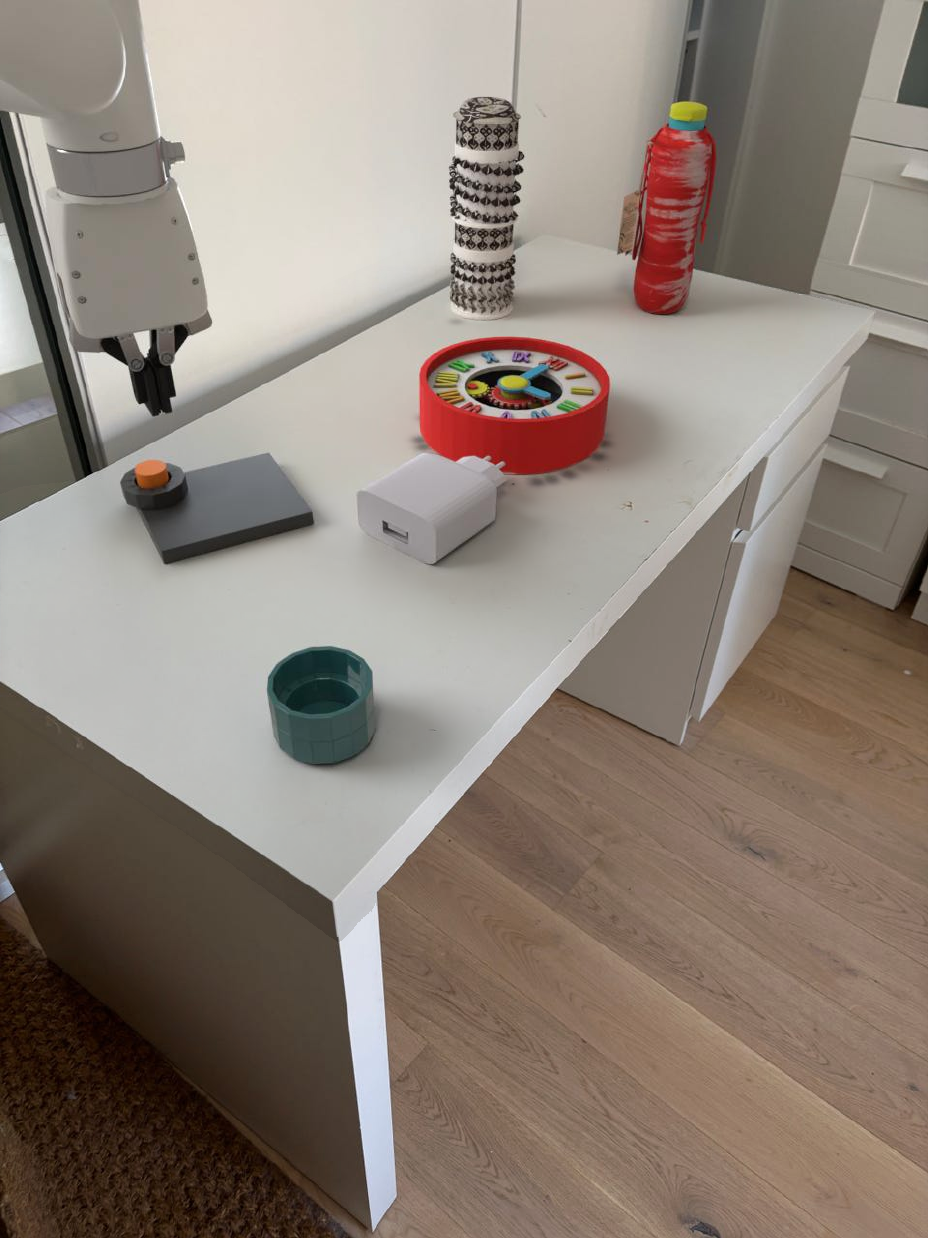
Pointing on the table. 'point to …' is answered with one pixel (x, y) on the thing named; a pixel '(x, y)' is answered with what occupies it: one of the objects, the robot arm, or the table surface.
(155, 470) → the button
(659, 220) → the water bottle
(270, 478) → the dark grey flat slab
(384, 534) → the charger
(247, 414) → the table surface
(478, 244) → the decorative candle
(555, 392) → the toy clock
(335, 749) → the bowl
